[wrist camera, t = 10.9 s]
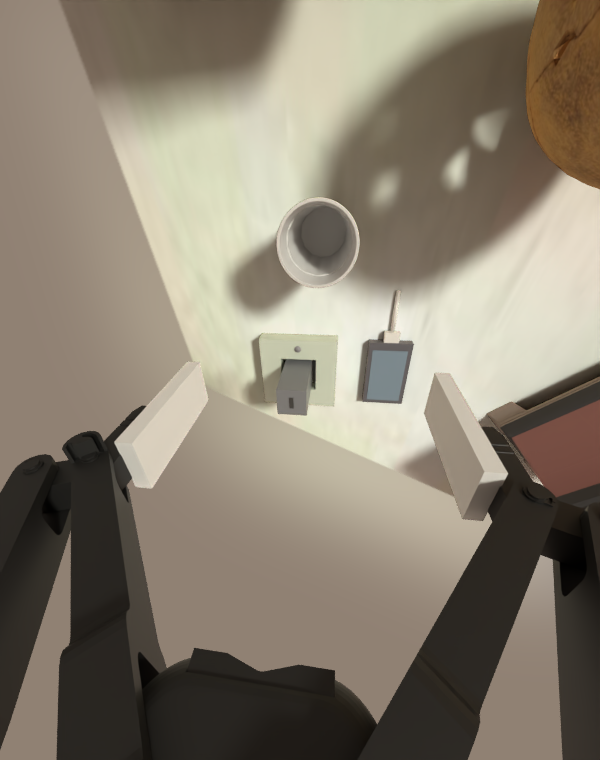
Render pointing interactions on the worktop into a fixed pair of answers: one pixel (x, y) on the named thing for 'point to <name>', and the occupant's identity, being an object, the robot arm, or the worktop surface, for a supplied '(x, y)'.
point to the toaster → (559, 441)
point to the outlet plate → (302, 349)
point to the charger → (294, 387)
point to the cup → (318, 242)
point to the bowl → (566, 86)
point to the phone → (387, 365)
